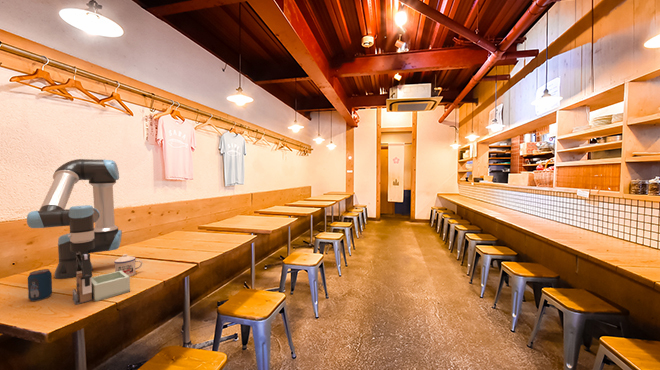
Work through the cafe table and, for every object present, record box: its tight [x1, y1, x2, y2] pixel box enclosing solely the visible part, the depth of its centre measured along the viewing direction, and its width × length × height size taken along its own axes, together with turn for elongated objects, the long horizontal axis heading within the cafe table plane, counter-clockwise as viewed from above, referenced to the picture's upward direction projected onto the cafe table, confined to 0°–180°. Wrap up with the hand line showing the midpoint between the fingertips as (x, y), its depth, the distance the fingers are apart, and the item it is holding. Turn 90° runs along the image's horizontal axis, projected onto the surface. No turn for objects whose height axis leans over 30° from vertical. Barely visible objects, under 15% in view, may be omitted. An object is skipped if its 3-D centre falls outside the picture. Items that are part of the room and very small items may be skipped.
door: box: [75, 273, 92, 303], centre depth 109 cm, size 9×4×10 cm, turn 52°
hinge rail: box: [71, 288, 94, 306], centre depth 109 cm, size 8×6×5 cm
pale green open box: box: [91, 271, 131, 302], centre depth 116 cm, size 14×12×7 cm
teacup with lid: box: [113, 253, 143, 278], centre depth 137 cm, size 12×9×12 cm
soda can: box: [27, 268, 53, 302], centre depth 111 cm, size 7×7×12 cm
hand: (84, 289), depth 109 cm, fingers open, 13 cm apart
